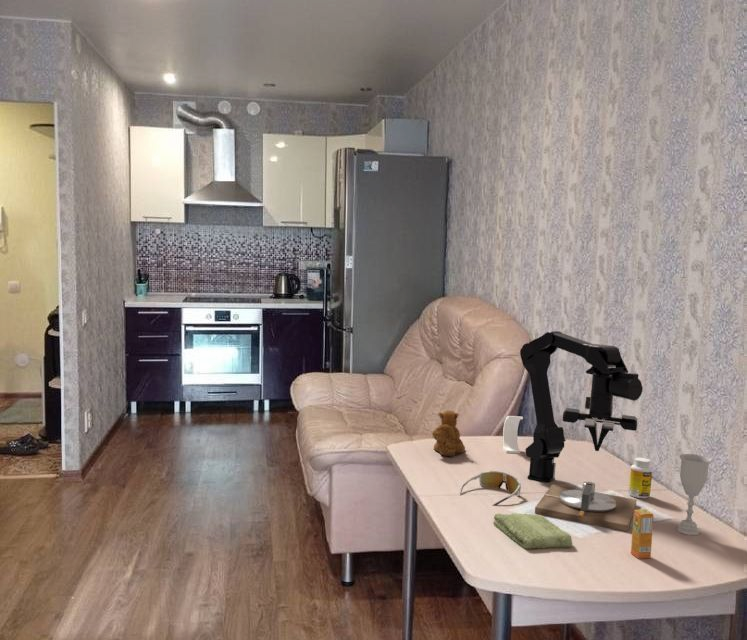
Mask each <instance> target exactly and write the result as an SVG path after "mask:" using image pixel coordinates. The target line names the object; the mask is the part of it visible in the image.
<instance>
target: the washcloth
mask: <svg viewBox="0 0 747 640" xmlns="http://www.w3.org/2000/svg"><path fill="white" fill-rule="evenodd" d="M493 516H494V517H493V522H492V524H493V526H494V527H496V528H497V529H499V530H500V531H501V532H502V533H504V534H505V535H506V536H507V537H508V538H510V539H511V540H513V542H515V543H516V544H518V546H520V547H521V548H522V549H526V550H531V549H541V550H542V549H546V548H555V549H558V548H561V549H562V548H567V549H568V548H571V547H572V546H573V540H572V536H571V534H570V533H569V532H567V531H566V530H563V529H561V527H559V526H558V525H556V524H554V523H553V522H552V521H550V520H549V519H548V518H546V517H545V515H542V514H537V513H535V514H534V513H533V514H532V513H531V514H527V513H517V512H514V513H509V514H502V513H495V514H494V515H493Z"/></svg>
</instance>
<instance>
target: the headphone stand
mask: <svg viewBox="0 0 747 640" xmlns="http://www.w3.org/2000/svg"><path fill="white" fill-rule="evenodd" d="M521 420H524V417H523V416H517V415H507V416H506V417H505V420H504V423H503V430H502V437H503V438H502V439H503V441H502V443H503V446H502V450H503V451H504V452H505V453H506V454H521V450H520V448H519V441H518V431H519V430H518V429H519V425H520V422H521Z"/></svg>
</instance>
